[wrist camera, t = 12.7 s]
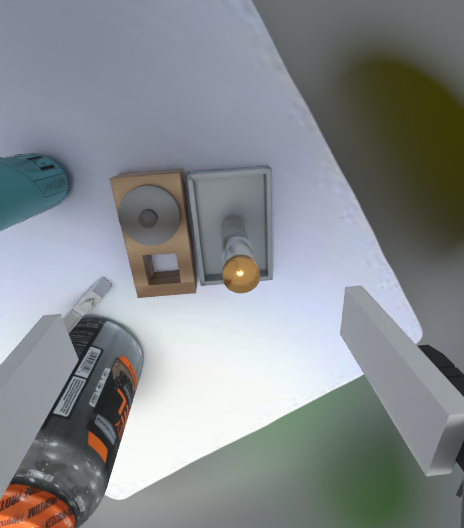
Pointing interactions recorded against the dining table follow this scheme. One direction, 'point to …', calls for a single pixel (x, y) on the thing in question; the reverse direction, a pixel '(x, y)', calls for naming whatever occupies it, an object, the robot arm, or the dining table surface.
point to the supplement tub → (77, 433)
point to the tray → (231, 204)
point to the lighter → (86, 303)
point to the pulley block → (156, 229)
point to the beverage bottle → (29, 187)
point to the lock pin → (238, 257)
